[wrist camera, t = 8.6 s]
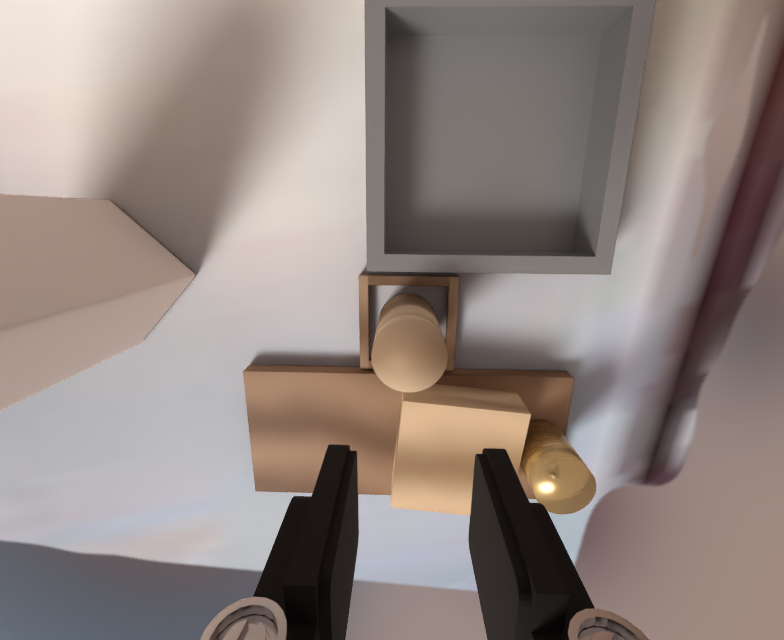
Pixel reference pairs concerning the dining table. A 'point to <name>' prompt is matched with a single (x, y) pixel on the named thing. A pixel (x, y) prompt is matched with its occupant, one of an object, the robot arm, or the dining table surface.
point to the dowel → (408, 345)
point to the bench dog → (555, 469)
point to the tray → (500, 132)
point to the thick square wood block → (451, 443)
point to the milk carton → (75, 288)
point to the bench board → (361, 418)
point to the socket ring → (411, 280)
